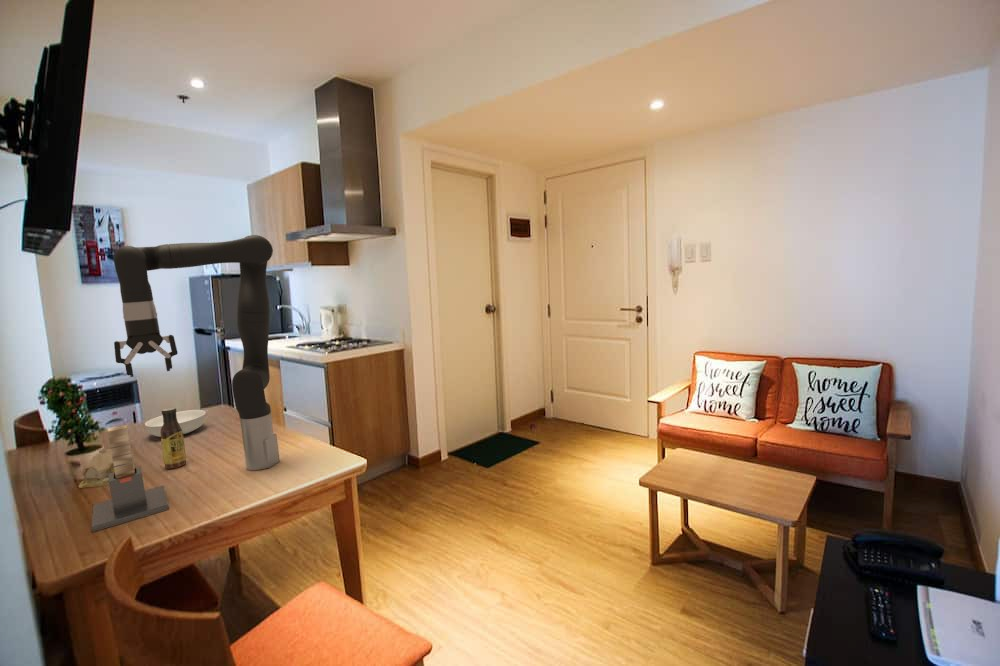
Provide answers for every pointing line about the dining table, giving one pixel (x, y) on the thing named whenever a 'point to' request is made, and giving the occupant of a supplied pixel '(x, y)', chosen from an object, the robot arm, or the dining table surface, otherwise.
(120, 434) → the ash post
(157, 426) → the serving bowl
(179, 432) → the sauce bottle
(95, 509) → the graphite stand
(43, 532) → the dining table surface
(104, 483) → the ceramic model
